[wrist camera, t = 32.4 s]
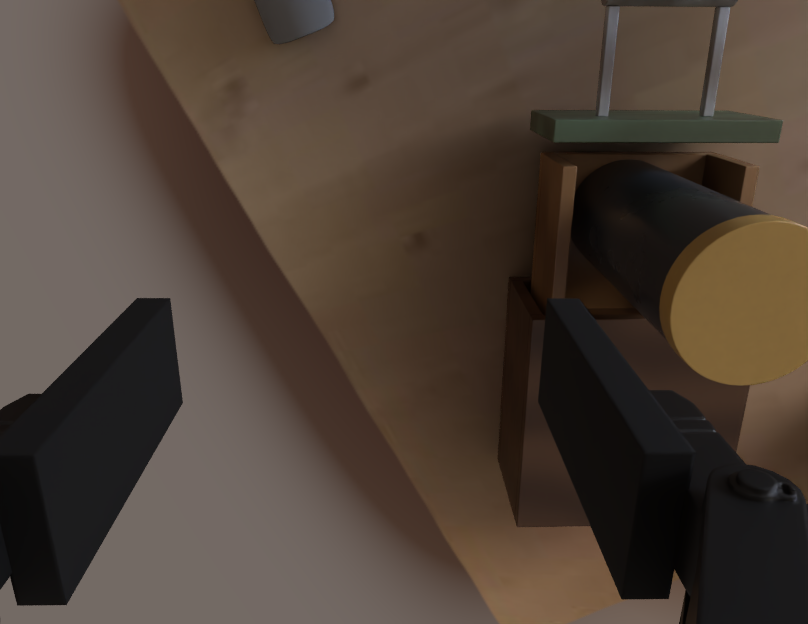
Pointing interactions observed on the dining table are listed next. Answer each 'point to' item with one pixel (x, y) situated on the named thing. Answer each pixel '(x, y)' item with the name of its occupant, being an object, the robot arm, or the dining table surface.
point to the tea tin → (699, 269)
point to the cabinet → (528, 430)
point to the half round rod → (294, 17)
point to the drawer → (564, 171)
